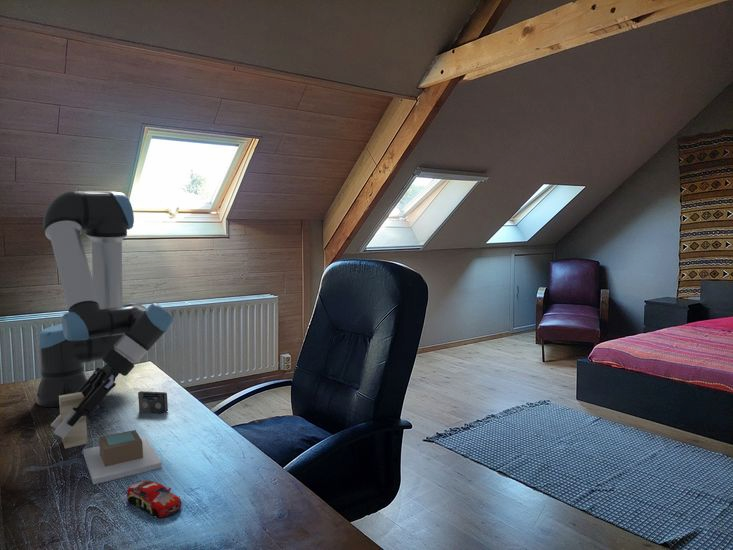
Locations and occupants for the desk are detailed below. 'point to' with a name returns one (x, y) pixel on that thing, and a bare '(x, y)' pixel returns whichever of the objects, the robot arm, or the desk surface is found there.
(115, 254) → the robot arm
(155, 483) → the race car
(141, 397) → the mini dv tape
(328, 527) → the desk surface
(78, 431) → the maple pillar
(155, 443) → the desk surface
